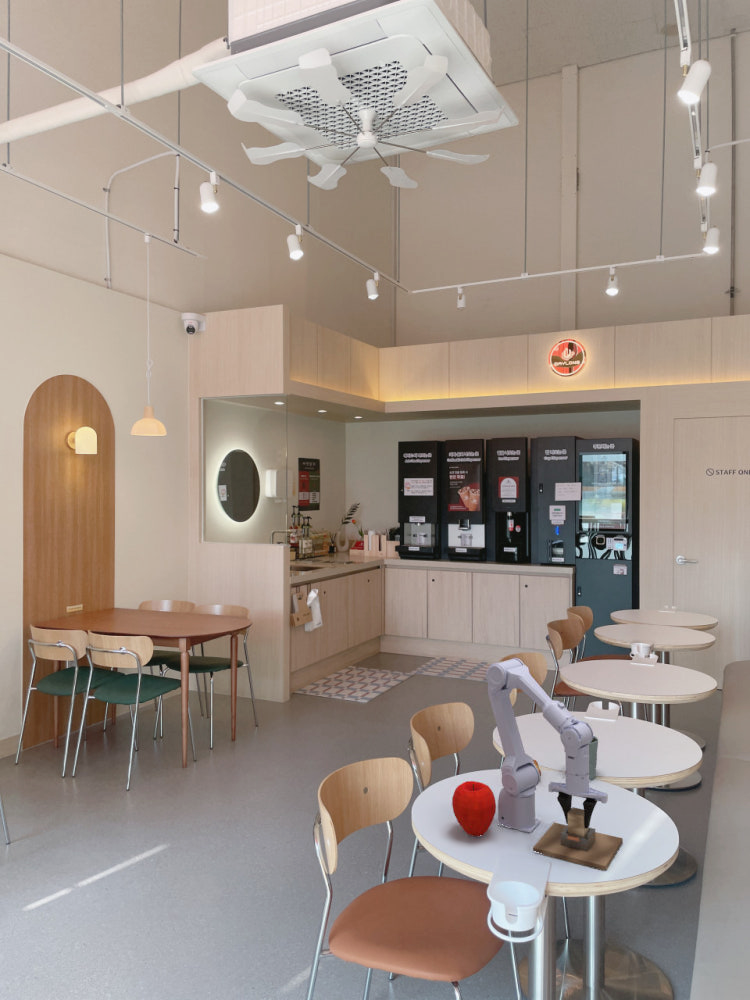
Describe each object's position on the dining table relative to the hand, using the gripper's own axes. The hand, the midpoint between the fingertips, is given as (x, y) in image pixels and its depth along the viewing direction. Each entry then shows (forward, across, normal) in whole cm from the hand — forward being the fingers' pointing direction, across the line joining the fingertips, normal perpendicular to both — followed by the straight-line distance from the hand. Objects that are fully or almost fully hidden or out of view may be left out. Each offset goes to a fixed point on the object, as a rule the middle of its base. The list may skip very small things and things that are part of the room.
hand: (577, 824), depth 190 cm
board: (+6, 0, 0) cm, 6 cm away
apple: (+6, +26, +6) cm, 27 cm away
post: (+4, 0, 0) cm, 4 cm away
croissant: (+6, +27, -35) cm, 45 cm away
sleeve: (+5, 0, 0) cm, 5 cm away
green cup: (+6, +13, -46) cm, 48 cm away
